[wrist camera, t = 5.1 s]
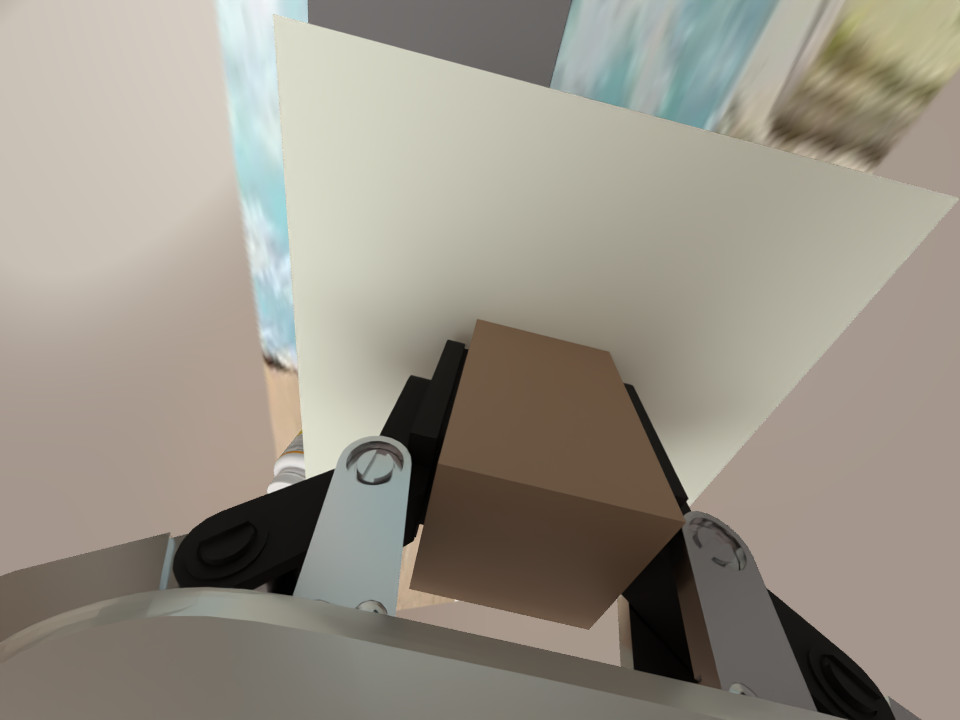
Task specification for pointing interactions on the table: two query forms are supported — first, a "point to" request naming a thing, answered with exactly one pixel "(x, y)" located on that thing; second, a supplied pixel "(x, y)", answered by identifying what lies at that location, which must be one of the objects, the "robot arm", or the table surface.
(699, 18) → the table surface
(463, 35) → the mat
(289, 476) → the supplement bottle
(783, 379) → the lid
